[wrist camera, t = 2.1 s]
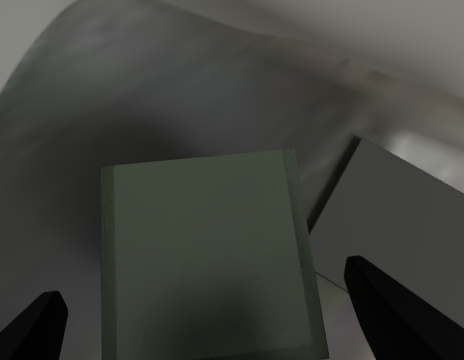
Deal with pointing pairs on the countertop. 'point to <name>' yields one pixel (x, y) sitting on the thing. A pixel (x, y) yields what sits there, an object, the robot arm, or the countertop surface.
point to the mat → (394, 227)
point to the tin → (208, 261)
